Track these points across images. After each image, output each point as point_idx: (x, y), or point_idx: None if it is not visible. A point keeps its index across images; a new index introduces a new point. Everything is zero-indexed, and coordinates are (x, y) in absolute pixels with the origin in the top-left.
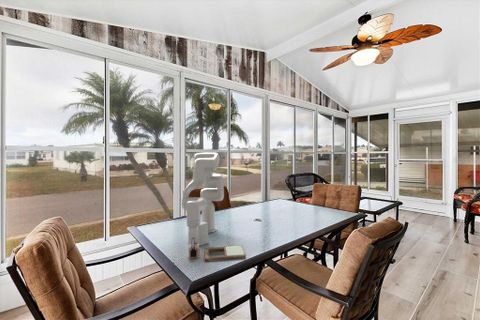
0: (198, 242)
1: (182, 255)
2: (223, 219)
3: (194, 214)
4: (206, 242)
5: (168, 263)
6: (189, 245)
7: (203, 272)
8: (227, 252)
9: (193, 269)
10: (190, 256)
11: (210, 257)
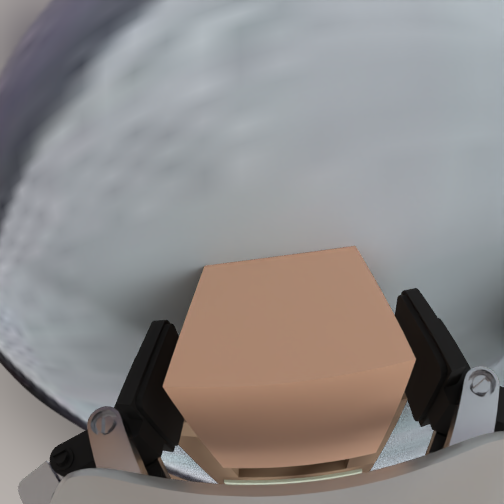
0: None
1: (308, 142)
2: None
3: None
4: None
5: (55, 48)
6: (357, 377)
7: (46, 378)
8: (267, 484)
9: (38, 333)
10: (150, 326)
11: (189, 442)
